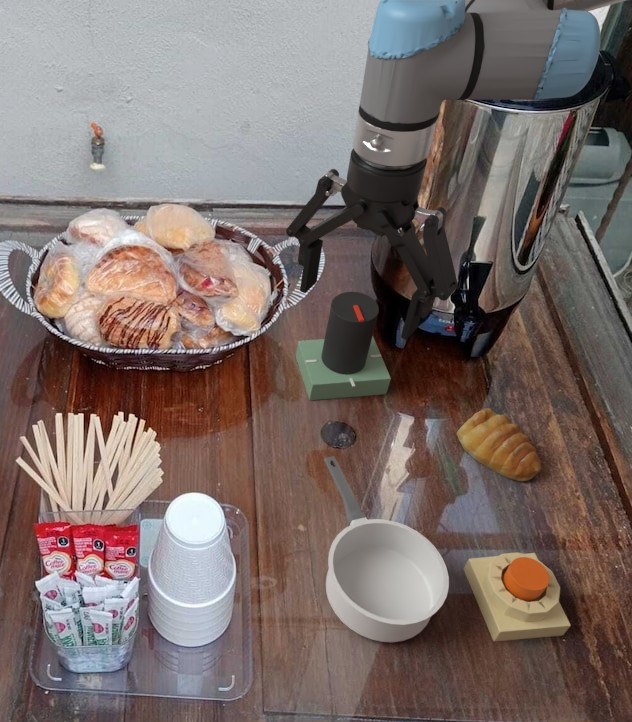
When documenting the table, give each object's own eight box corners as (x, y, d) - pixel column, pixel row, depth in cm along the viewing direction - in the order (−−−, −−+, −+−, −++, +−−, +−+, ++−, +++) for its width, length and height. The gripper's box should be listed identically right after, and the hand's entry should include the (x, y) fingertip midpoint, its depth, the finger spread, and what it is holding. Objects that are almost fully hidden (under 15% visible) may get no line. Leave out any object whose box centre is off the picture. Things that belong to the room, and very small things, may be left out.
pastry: (550, 467, 90) (562, 447, 87) (511, 495, 88) (522, 475, 85) (485, 416, 96) (494, 396, 93) (447, 441, 93) (455, 421, 91)
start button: (532, 565, 77) (539, 555, 76) (548, 599, 75) (556, 588, 73) (497, 569, 77) (503, 558, 76) (512, 602, 75) (519, 592, 73)
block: (528, 563, 82) (540, 543, 79) (563, 635, 76) (578, 617, 73) (463, 568, 81) (473, 549, 79) (493, 641, 76) (505, 623, 73)
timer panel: (366, 346, 105) (370, 329, 103) (388, 399, 98) (393, 382, 96) (294, 351, 105) (296, 335, 103) (311, 405, 98) (314, 389, 96)
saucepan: (368, 475, 90) (377, 446, 86) (456, 635, 76) (472, 608, 72) (275, 496, 89) (280, 467, 85) (348, 662, 75) (358, 637, 71)
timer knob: (316, 345, 101) (326, 291, 95) (358, 342, 101) (371, 287, 95) (327, 376, 97) (338, 322, 91) (371, 372, 98) (385, 318, 91)
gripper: (265, 131, 82) (253, 284, 97) (495, 211, 70) (440, 372, 85) (303, 103, 86) (286, 255, 101) (527, 175, 74) (470, 335, 89)
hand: (356, 308), depth 93 cm, fingers open, 13 cm apart
